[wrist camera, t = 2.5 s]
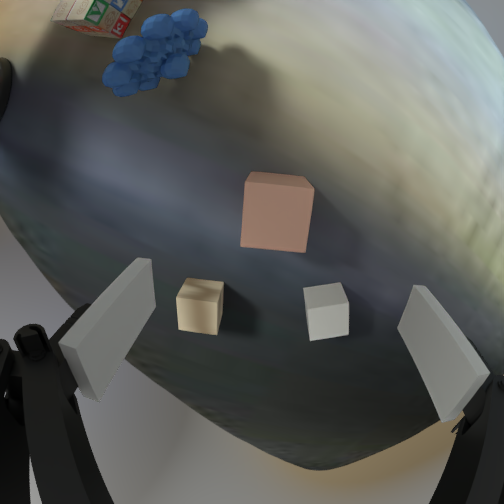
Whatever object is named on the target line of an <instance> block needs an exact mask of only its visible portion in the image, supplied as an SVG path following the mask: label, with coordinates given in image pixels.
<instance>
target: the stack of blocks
mask: <svg viewBox="0 0 504 504" xmlns="http://www.w3.org/2000/svg"><path fill="white" fill-rule="evenodd" d="M142 1H143V0H61V1H60V3H59V5H58V7H57V9H56V10H55V12H54V14H53V16H52V18H51V20H50V21H52V22H55V23H58V24H60V25H63V26H65V27H67V28H70V29H73V30H76V31H78V32H81V33H84V34H86V35H89V36H100V37H108V38H119V39H120V38H122V36H123V34H124V32H125V30H126V28H127V26H128V24H129V22H130V20H131V19H132V18H133V16H134V15H135V13H136V11H137V9H138V8H139V6H140V4H141V2H142Z"/></svg>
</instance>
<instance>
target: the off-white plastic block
mask: <svg viewBox="0 0 504 504" xmlns="http://www.w3.org/2000/svg"><path fill="white" fill-rule="evenodd" d="M303 289H304V299H305V308H306V318H307V324H308V331H309V337H310V341H312V340H319V339H326V338H332V337H338V336H344V335H349V302H348V299H347V297H346V294H345V292H344V290H343V287H342V285H341V283H340V282H339V283H332V284H326V285H319V286H313V287H306V288H303Z"/></svg>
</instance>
